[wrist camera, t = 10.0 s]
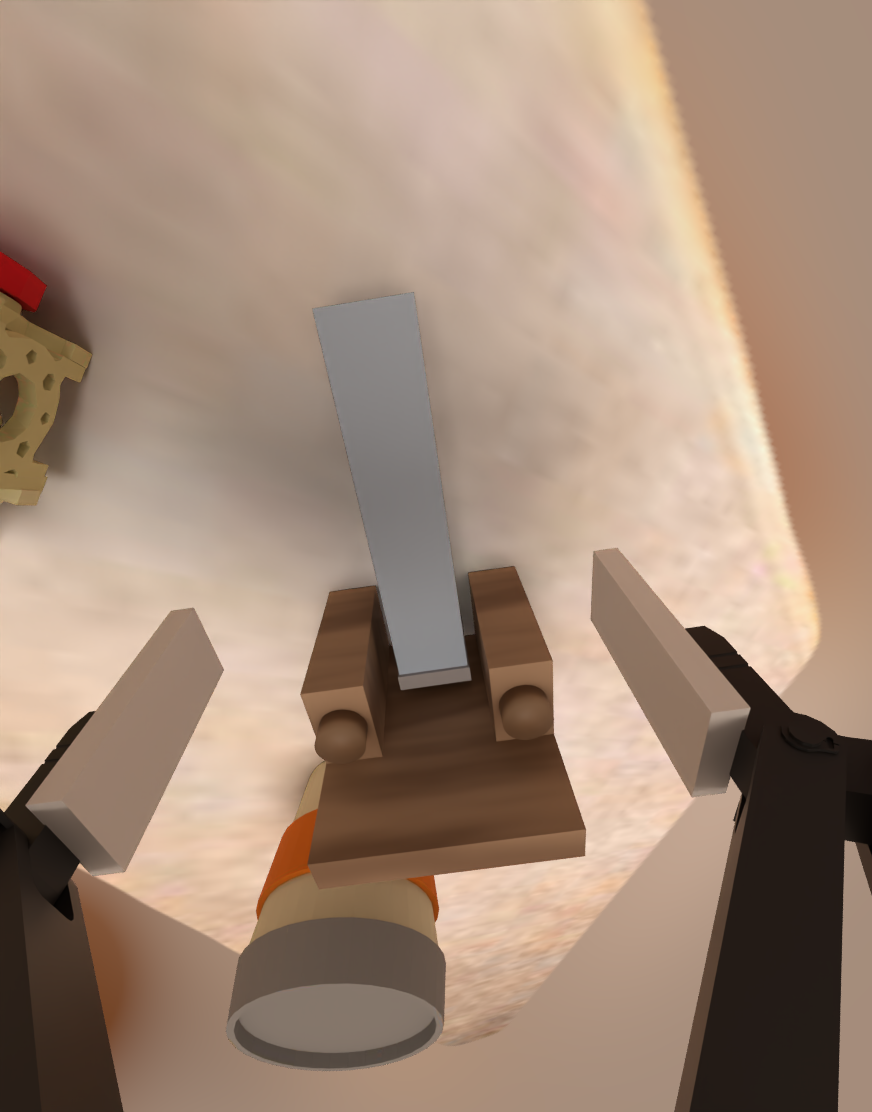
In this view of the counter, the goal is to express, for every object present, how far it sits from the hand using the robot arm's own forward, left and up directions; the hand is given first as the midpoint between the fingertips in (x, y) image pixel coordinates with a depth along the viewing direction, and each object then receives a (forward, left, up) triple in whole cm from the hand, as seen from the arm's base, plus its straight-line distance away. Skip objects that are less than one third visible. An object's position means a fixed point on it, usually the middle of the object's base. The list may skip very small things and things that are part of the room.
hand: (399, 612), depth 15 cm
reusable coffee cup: (+26, -8, -13) cm, 30 cm away
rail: (+1, 0, -13) cm, 13 cm away
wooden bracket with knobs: (+9, 0, -13) cm, 16 cm away
